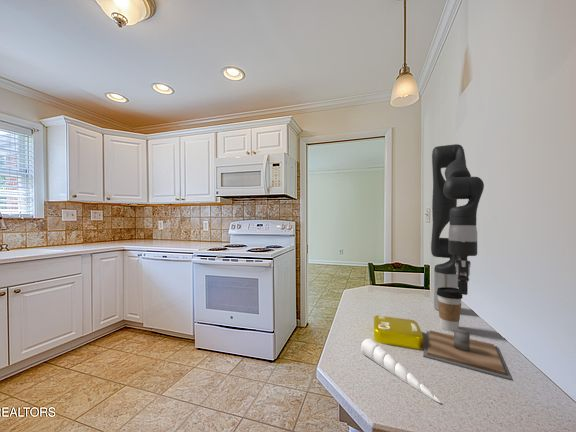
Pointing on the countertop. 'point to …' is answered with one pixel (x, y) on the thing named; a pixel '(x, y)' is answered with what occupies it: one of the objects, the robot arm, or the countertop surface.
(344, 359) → the countertop surface
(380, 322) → the element tile
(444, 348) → the walnut lid
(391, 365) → the unicorn horn
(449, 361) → the rubber mat
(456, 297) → the coffee cup
